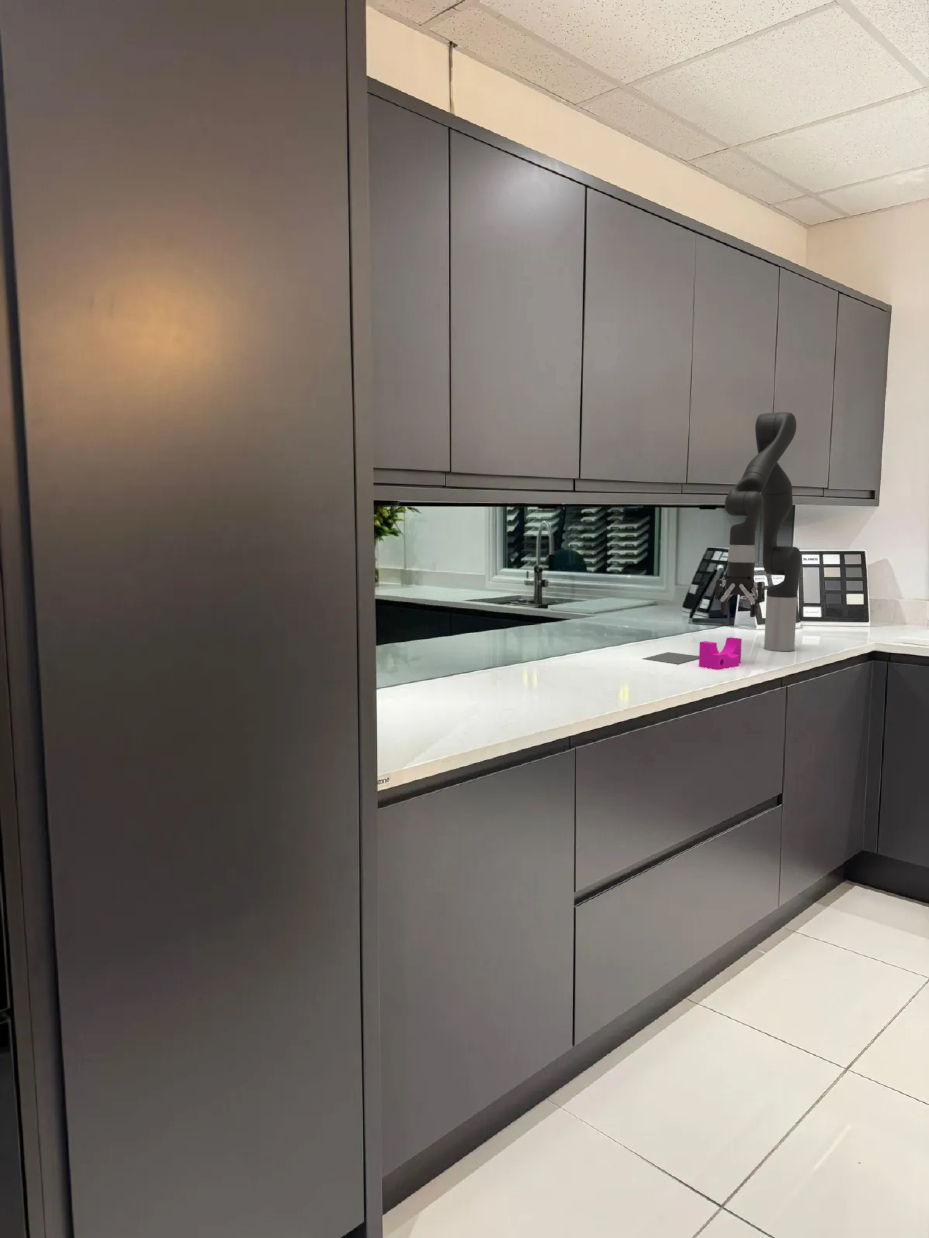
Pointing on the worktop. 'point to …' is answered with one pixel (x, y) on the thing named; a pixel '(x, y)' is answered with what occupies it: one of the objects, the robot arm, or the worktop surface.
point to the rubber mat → (673, 658)
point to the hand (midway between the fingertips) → (738, 615)
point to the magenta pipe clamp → (720, 654)
